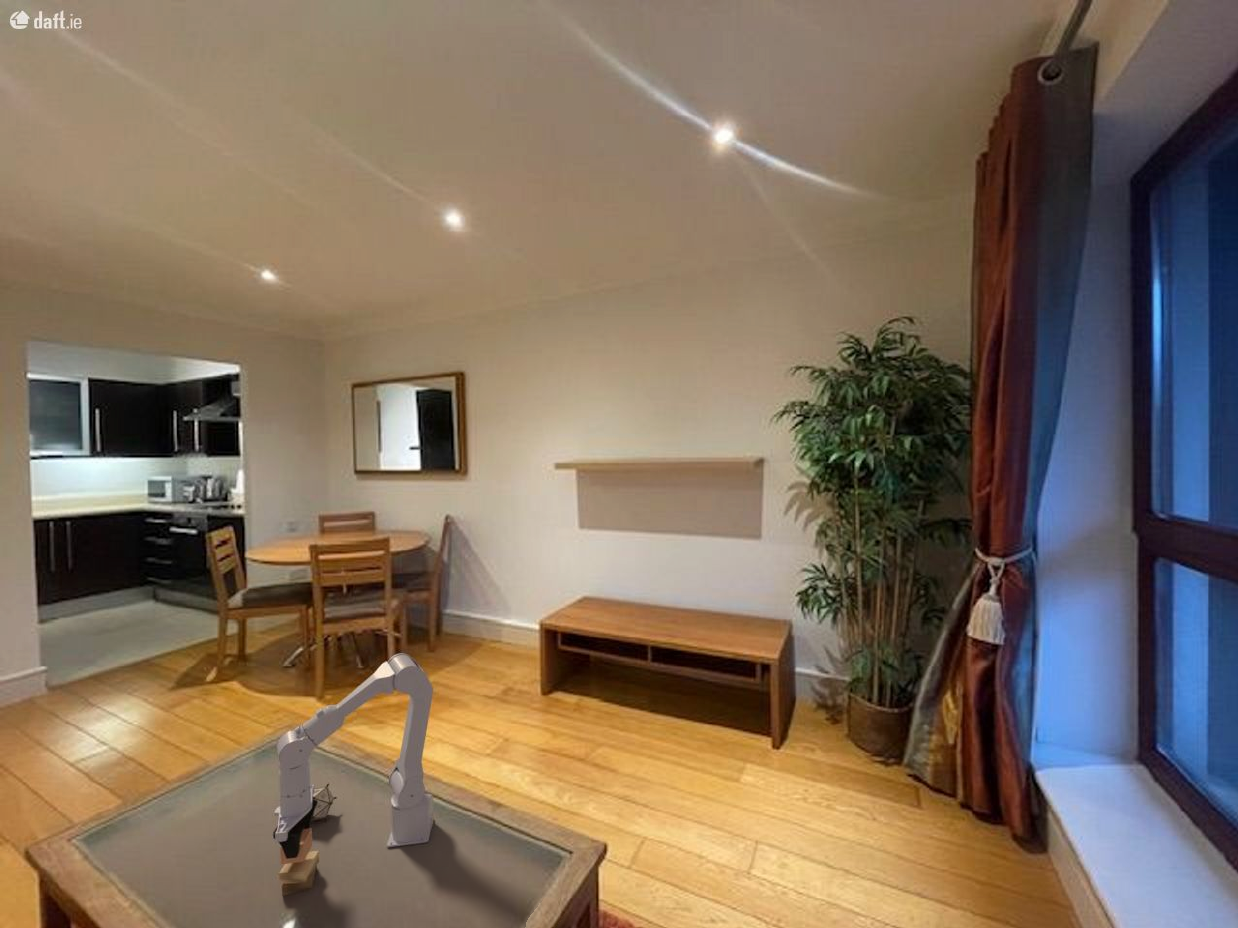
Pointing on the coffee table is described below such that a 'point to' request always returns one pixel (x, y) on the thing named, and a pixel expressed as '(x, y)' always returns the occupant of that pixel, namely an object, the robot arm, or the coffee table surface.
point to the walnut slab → (298, 885)
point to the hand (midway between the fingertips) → (297, 847)
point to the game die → (322, 802)
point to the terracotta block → (303, 850)
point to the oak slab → (299, 869)
